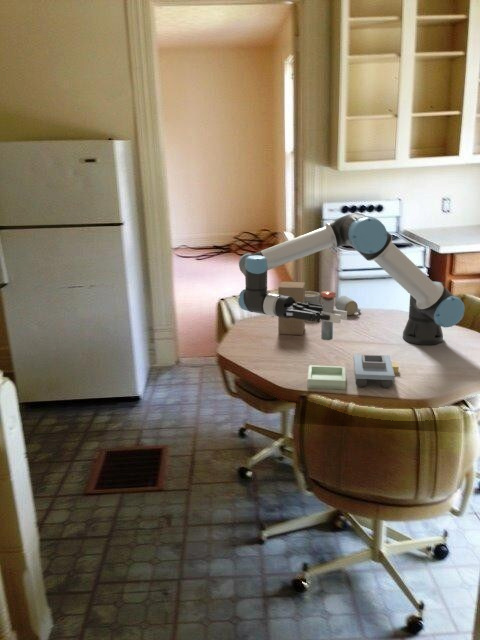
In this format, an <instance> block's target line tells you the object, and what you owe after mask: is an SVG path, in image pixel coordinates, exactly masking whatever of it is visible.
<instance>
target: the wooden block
mask: <svg viewBox="0 0 480 640" xmlns="http://www.w3.org/2000/svg"><path fill="white" fill-rule="evenodd" d="M277 289H278V293H277V294H280V295H285V296H291V297H293V299H294V300H295V302H296V303H297V302H302V303H305V291H306V282H304V281H281V282H280V284H279V286H278V288H277ZM277 318H278V321H277V323H278V324H277V327H278V331H277V333H278V334H279V335H295V336H302V335H304V334H303V333H304V332H305V331H304V330H305V325H306V324H305V321H306V320H302V319H296V318H288V319H286V318H280V317H277Z"/></svg>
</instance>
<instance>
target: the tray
mask: <svg viewBox="0 0 480 640" xmlns="http://www.w3.org/2000/svg"><path fill="white" fill-rule="evenodd" d="M307 371H308V373H307V388H308V389H324V390H325V389H327V390H345V391H346V385H347V383H346V381H347V378H346V377H347V376H346V366H339V365H336V366H335V365H315V364H313V365H311V364H309V365H308V370H307Z"/></svg>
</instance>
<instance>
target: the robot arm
mask: <svg viewBox="0 0 480 640" xmlns="http://www.w3.org/2000/svg"><path fill="white" fill-rule="evenodd" d="M344 246H350V247H352V248H353V249H355V251H356V252H358V253H359V254H360V256H362V257H363V258H364V259H365V260H366V261H369V262H371V261H374V262H375V263H376V264H377V265H378V266H379V267H380V268H381V269H382V270H384V271H385V272H386V273H387V274H388V275H389V276H390V277H391V278H392V279H393V280H394V281H395V282H396V283H397V284H398V285H399V286H401V288H403V290H404V291H406V292H407V293H409V305H408V306H409V307H408V320H407V321H406V324H405V326H404V329H403V332H402V339H403V340H404V341H406V342H409V343H411V344H415V345H421V346H432V345H438V344H441V343H442V342H443V340H444V334H443V329H442V328H452V327H454V326H456V325H457V324H458V323H460V322H461V320H462V319H463V317H464V315H465V309H466V308H465V307H466V306H465V304H464V301H462V299H461V298H459V296H456V295H454V294H453V293H451V292H450V291H449V289H447V287H445V286H444V285H443V282H440V281H433V280H432V279H430V277H429V276H427V275H426V273H425V272H424V271H422V269H420V268H419V267H418V266H417V264H415V263H414V262H413V261H412V260H411V259H410V258H409V257H408V256H407V255H406V253H404V252H402V251H401V250H400V248H398V247H397V246H396V245H395V243H393V236H392V235H391V233H390V232H388V230H387V228H386V226H385V224H383V223H382V221H381V220H379V219H377V218H376V217H373V216H369V215H364V214H363V213H358V212H353V213H349V214H348V213H347V214H346V215H343V216H340V217H339V218H338V217H337V218H336V219H333V220H331V221H328V222H326V223H325V225H324V226H323V227H320V228H318V229H314V230H313V231H310V232H309V231H308V233H305V234H302V235H299V236H296V237H293V238H291V239H289V240H286V241H283V242H281V243H278V244H276V245H273V246H271V247H267V248H265V249H263V250H260V251H258V252H255V253H245V254H242V256H240V258H239V261H238V266H239V267H238V268H239V271H240V272H241V274H242V275H244V278H245V279H244V280H245V289H242V290H241V291H240V293H239V297H238V300H237V301H238V305H239V308H240V309H241V310H244V311H247V312H249V313H256V314H260V315H265V316H271V317H272V318H274V317H277V318H278V317H280V318H286V319H288V318H296V319H302V320H305V321H309V322H316V323H317V324H319V323H321V321H322V320H323V321H328V322H333V324H334V323H335V324H338V325H339V324H341V320H342V321H347V320H348V315H347V311H342V310H337V309H336V308H334V312H333V313H329V312H323V311H322V303H320V304H316V303H311V302H309V301H306V303H302V302H297V303H296V302H295V300H294V299H293V297H291V296H285V295H280V294H278V293H273V292H272V293H271V292H268V271H271V270H273V269H275V268H278V267H280V266H283V265H286V264H289V263H291V262H293V261H296V260H299V259H301V258H304V257H307V256H311V255H313V254H316V253H318V252H320V251H323V250H326V249H329V248H334V249H337V248H339V247H344Z"/></svg>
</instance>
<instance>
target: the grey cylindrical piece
mask: <svg viewBox="0 0 480 640" xmlns="http://www.w3.org/2000/svg"><path fill="white" fill-rule="evenodd" d="M320 300H321V293H320V292H317V291H311V290H305V303H306V301H309V302H311V303H316V304H321V302H320Z"/></svg>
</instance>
